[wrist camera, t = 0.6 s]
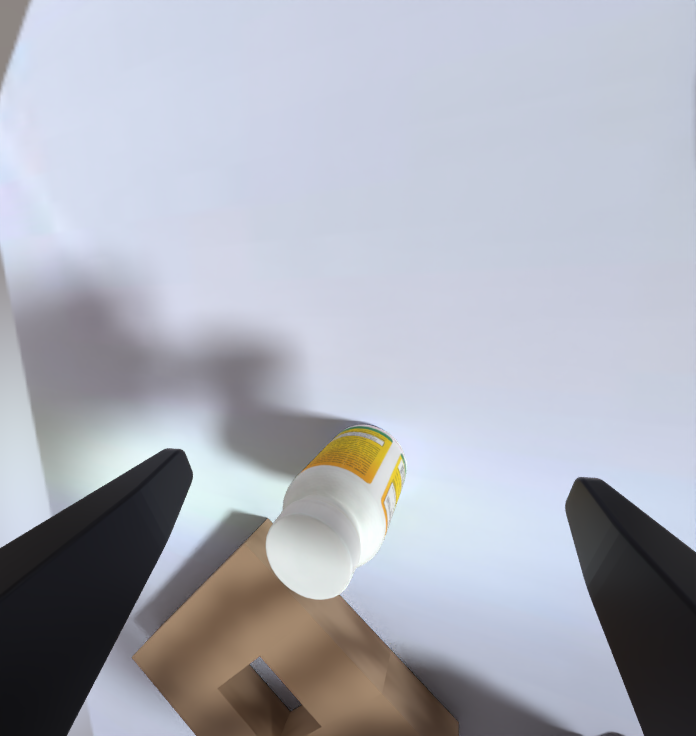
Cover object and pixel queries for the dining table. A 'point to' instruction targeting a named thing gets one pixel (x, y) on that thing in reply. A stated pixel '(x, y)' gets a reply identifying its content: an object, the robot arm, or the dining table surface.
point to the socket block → (282, 661)
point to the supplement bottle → (337, 512)
